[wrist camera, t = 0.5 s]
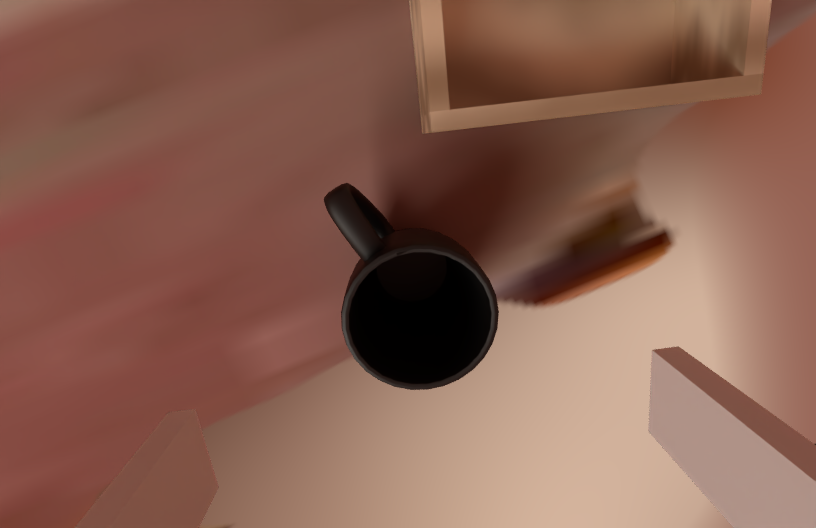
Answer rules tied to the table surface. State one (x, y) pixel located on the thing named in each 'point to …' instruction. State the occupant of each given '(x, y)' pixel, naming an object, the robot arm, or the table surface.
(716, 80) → the open wooden box
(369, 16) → the table surface
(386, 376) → the mug
